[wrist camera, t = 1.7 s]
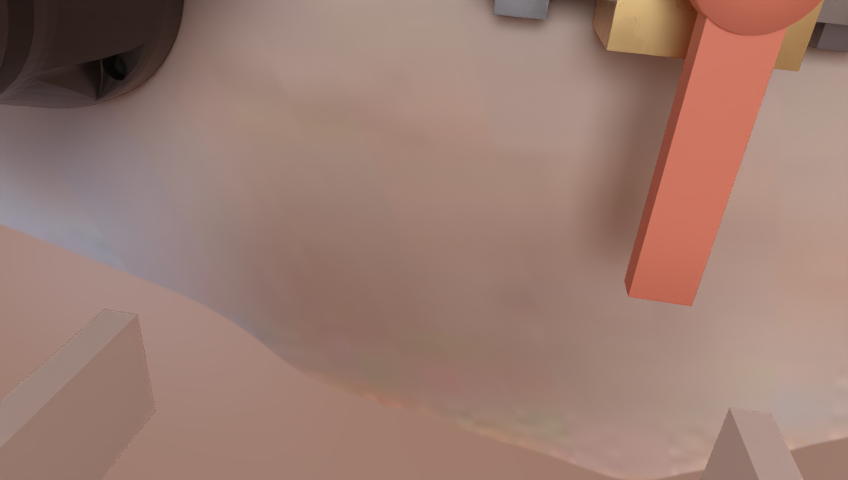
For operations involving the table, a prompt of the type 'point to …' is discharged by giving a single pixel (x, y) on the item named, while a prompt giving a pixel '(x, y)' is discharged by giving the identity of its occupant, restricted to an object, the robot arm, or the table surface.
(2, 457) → the robot arm
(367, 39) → the table surface
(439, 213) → the table surface
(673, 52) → the valve
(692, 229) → the lever
